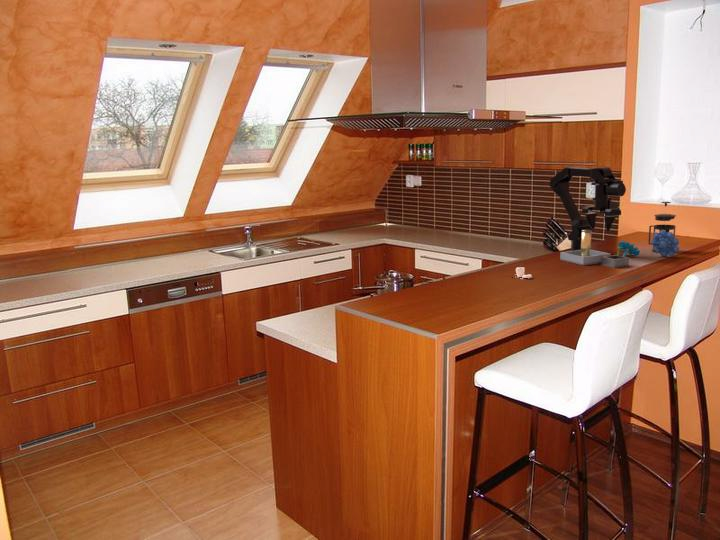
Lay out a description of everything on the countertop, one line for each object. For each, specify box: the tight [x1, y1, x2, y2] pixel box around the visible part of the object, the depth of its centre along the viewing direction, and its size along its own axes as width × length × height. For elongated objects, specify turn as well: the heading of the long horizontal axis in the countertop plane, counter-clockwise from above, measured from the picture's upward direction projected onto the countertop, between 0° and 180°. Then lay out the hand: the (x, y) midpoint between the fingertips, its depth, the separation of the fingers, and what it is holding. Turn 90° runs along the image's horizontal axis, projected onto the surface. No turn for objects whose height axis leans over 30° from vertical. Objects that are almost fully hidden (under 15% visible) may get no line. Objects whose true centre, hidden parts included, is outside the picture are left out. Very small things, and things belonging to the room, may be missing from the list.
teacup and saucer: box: [515, 266, 533, 279], centre depth 242 cm, size 9×8×4 cm
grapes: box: [650, 230, 680, 258], centre depth 267 cm, size 12×7×12 cm, turn 47°
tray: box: [559, 249, 612, 266], centre depth 268 cm, size 15×15×4 cm
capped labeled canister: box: [581, 230, 592, 257], centre depth 267 cm, size 4×4×13 cm
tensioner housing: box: [600, 254, 630, 269], centre depth 255 cm, size 8×8×4 cm
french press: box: [648, 201, 677, 254], centre depth 279 cm, size 12×9×23 cm
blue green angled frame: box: [616, 240, 641, 257], centre depth 272 cm, size 11×6×10 cm
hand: (600, 229), depth 275 cm, fingers open, 9 cm apart
